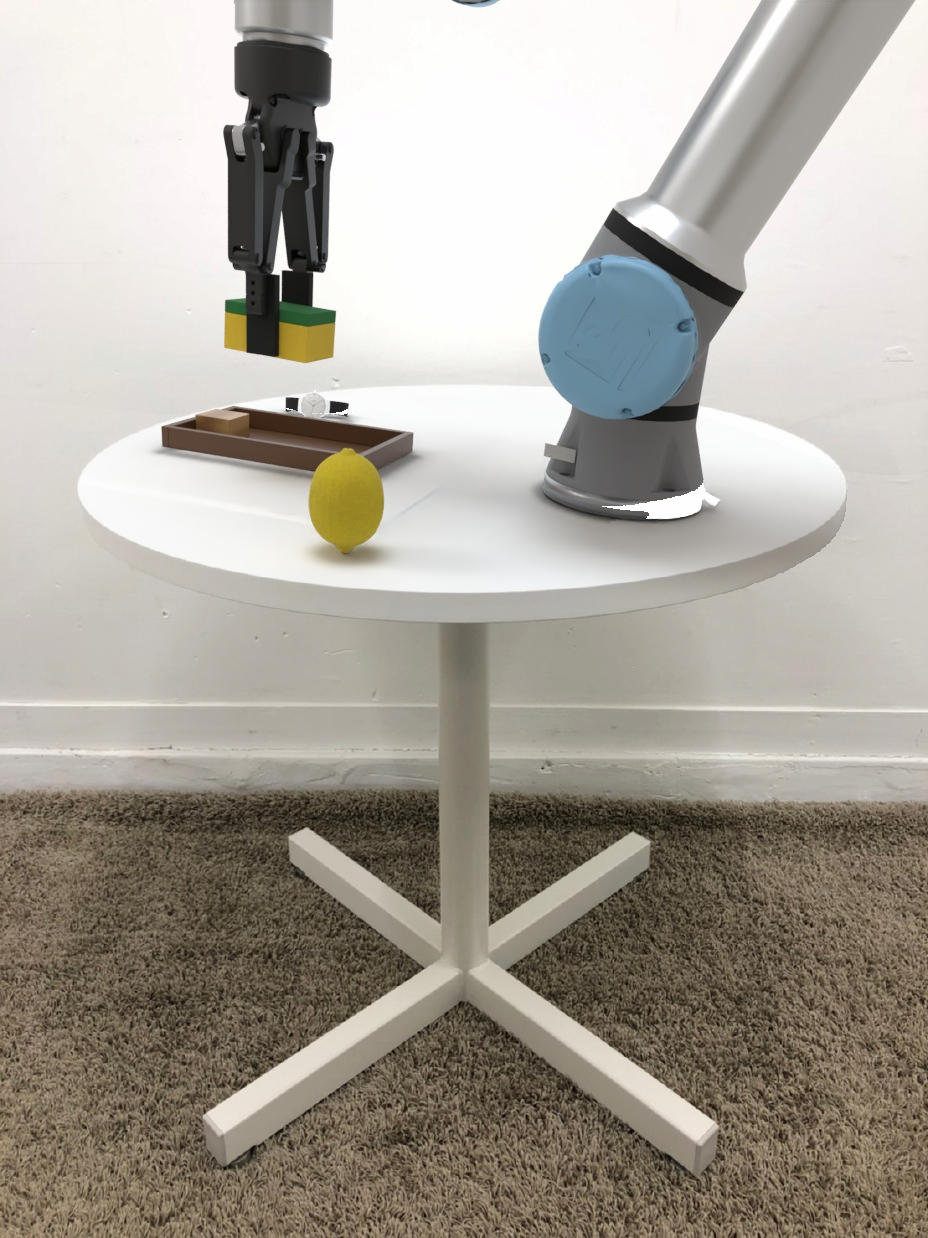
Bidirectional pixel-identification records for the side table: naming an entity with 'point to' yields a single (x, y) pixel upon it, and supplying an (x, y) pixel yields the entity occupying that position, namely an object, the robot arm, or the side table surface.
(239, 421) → the tan wooden block
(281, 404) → the side table surface
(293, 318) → the sponge
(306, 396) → the watch
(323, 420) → the tray
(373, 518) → the lemon
